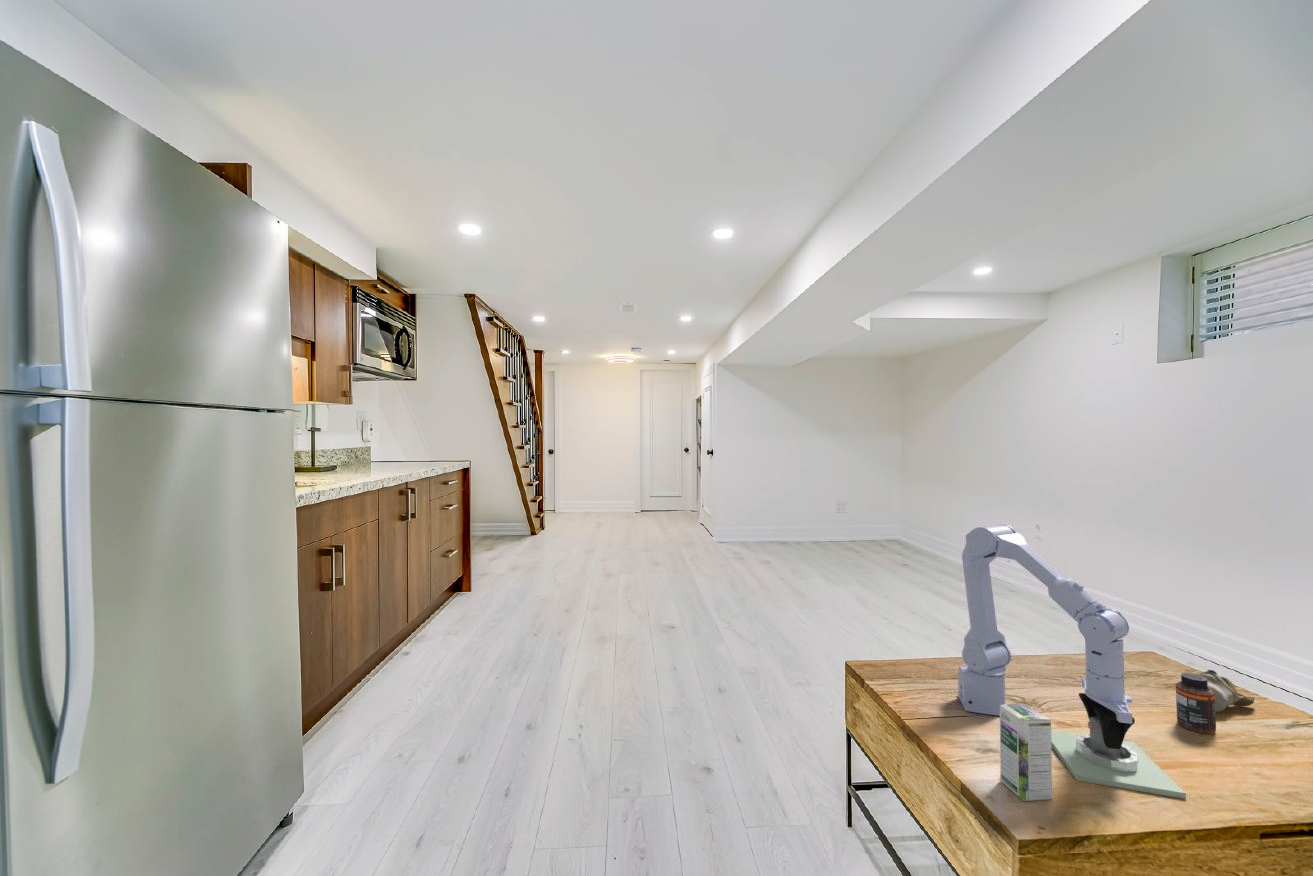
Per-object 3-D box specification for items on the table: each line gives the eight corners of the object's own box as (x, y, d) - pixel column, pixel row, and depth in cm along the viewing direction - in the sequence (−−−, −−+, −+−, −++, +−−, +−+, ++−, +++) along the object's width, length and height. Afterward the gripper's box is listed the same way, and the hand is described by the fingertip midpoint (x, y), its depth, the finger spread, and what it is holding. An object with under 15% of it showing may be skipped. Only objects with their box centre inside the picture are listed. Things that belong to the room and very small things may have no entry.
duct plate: (1076, 780, 94) (1076, 775, 94) (1042, 733, 109) (1042, 729, 109) (1185, 799, 89) (1185, 793, 89) (1133, 747, 104) (1133, 742, 104)
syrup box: (998, 781, 94) (997, 703, 95) (1028, 778, 95) (1026, 702, 95) (1023, 802, 89) (1021, 720, 89) (1054, 800, 89) (1052, 718, 89)
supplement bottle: (1206, 723, 112) (1205, 673, 113) (1222, 738, 107) (1221, 684, 107) (1171, 718, 115) (1169, 668, 115) (1185, 731, 110) (1183, 679, 110)
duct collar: (1090, 767, 96) (1089, 757, 96) (1068, 741, 105) (1068, 731, 105) (1149, 776, 94) (1148, 766, 94) (1122, 749, 102) (1122, 739, 102)
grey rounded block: (1125, 762, 97) (1125, 730, 97) (1095, 757, 98) (1094, 726, 98) (1113, 748, 101) (1112, 718, 101) (1084, 744, 102) (1083, 714, 102)
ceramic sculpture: (1168, 665, 122) (1196, 657, 129) (1168, 701, 122) (1195, 691, 128) (1232, 684, 113) (1258, 674, 119) (1232, 723, 112) (1258, 711, 119)
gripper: (1152, 692, 91) (1154, 767, 91) (1109, 659, 105) (1111, 724, 105) (1104, 686, 94) (1106, 759, 93) (1069, 655, 107) (1070, 719, 107)
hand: (1106, 740), depth 99 cm, fingers closed on grey rounded block, 4 cm apart
